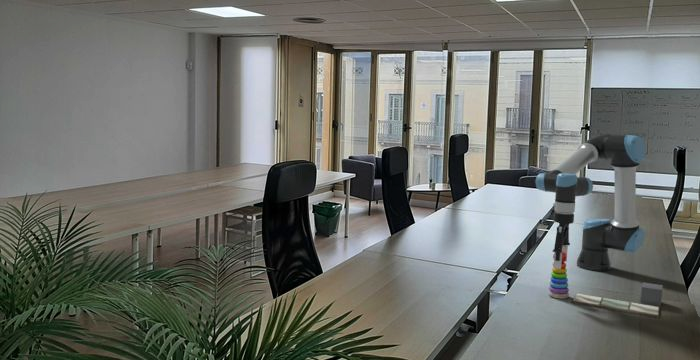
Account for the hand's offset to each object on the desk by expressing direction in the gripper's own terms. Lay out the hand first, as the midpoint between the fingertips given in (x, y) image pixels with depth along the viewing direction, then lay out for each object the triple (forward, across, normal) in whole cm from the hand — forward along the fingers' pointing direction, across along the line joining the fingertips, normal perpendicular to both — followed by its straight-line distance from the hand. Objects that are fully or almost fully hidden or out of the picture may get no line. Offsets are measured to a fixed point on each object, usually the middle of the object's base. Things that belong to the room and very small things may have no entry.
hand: (560, 264), depth 233 cm
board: (+13, 0, +21) cm, 25 cm away
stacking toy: (+13, 0, 0) cm, 13 cm away
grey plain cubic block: (+13, -12, +33) cm, 37 cm away
